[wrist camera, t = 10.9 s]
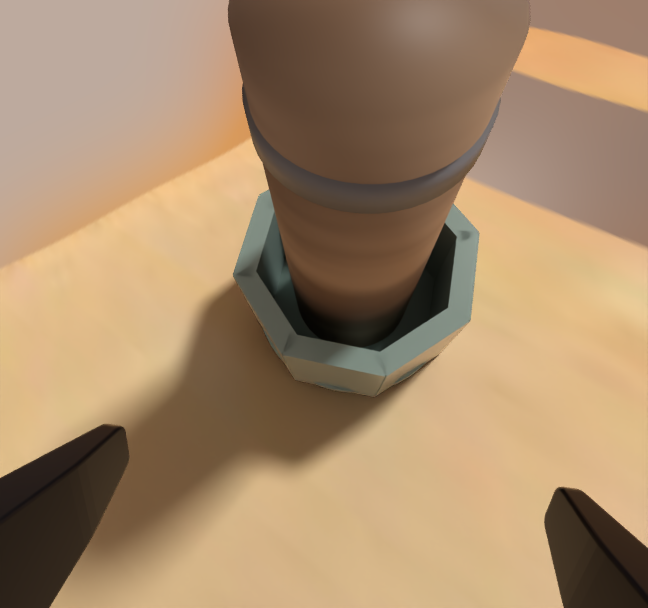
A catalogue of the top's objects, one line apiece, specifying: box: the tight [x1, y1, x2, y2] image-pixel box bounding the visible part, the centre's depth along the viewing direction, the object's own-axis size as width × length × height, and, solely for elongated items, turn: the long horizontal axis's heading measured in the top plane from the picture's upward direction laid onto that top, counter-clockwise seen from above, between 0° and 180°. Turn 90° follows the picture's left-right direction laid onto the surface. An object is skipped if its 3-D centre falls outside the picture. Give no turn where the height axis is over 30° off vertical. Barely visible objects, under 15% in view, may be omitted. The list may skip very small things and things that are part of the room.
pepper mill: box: [228, 0, 530, 348], centre depth 13 cm, size 5×5×13 cm
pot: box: [233, 190, 479, 397], centre depth 18 cm, size 9×9×4 cm
